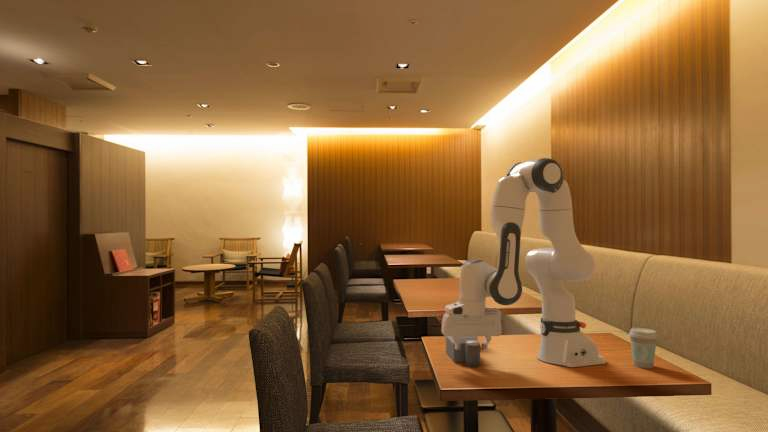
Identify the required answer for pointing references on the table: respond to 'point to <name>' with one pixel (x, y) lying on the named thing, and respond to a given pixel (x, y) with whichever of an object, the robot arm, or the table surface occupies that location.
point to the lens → (472, 353)
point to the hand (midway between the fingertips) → (471, 349)
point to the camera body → (460, 354)
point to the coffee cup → (643, 346)
